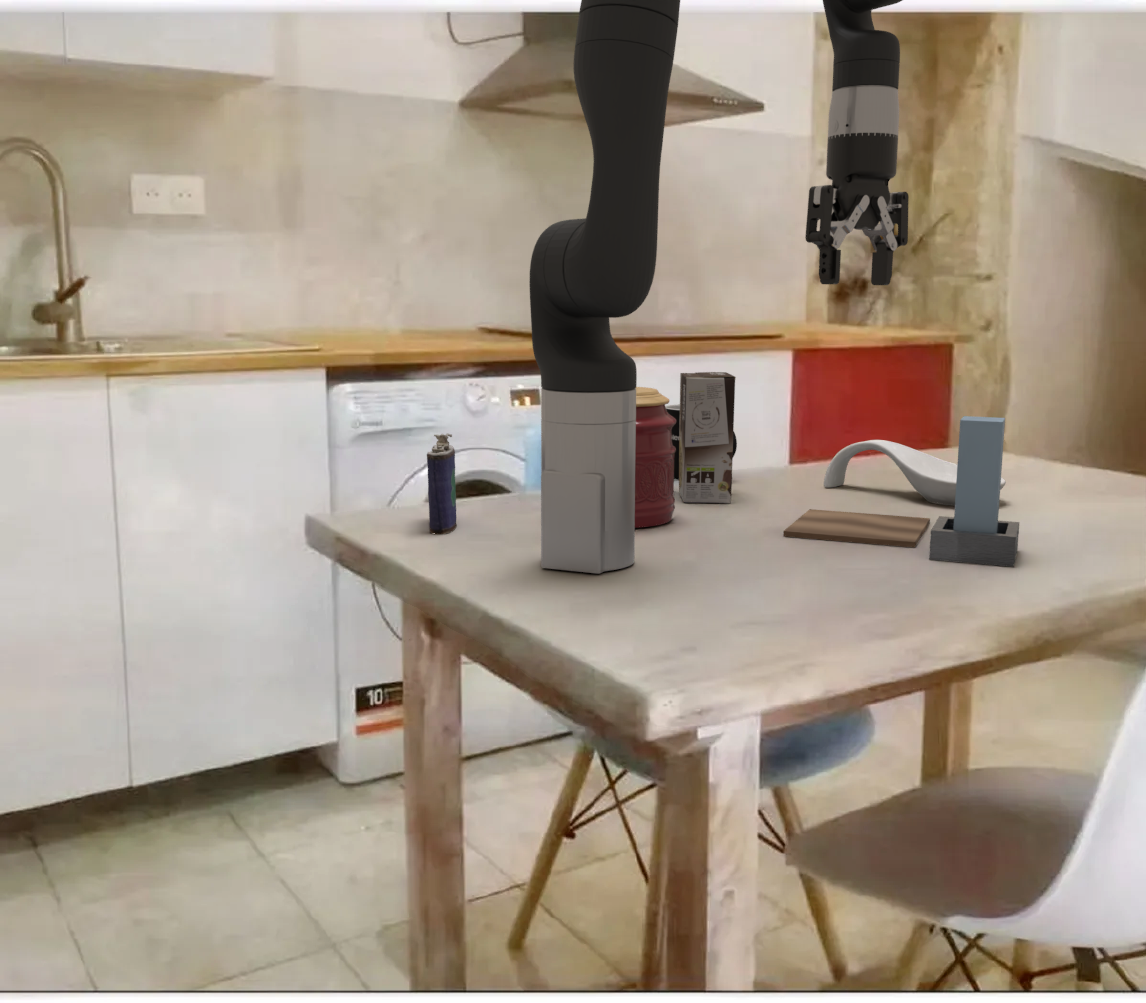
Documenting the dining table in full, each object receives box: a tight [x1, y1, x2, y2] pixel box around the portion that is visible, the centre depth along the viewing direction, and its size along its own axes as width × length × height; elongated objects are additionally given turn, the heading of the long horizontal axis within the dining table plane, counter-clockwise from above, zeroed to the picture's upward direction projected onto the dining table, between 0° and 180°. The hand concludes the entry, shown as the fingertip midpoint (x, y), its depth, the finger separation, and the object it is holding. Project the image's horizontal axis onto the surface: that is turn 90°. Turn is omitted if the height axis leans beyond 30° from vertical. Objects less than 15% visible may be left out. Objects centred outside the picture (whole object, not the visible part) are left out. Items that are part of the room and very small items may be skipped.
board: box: [782, 508, 931, 549], centre depth 131 cm, size 14×14×1 cm
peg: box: [953, 415, 1006, 533], centre depth 118 cm, size 4×4×14 cm
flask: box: [426, 433, 458, 535], centre depth 132 cm, size 9×3×11 cm, turn 1°
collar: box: [928, 515, 1020, 568], centre depth 119 cm, size 8×8×3 cm
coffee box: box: [678, 371, 737, 504], centre depth 150 cm, size 9×6×16 cm
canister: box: [635, 386, 676, 529], centre depth 135 cm, size 13×13×18 cm
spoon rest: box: [823, 439, 1007, 506], centre depth 152 cm, size 24×12×7 cm, turn 50°
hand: (855, 284), depth 130 cm, fingers open, 8 cm apart
